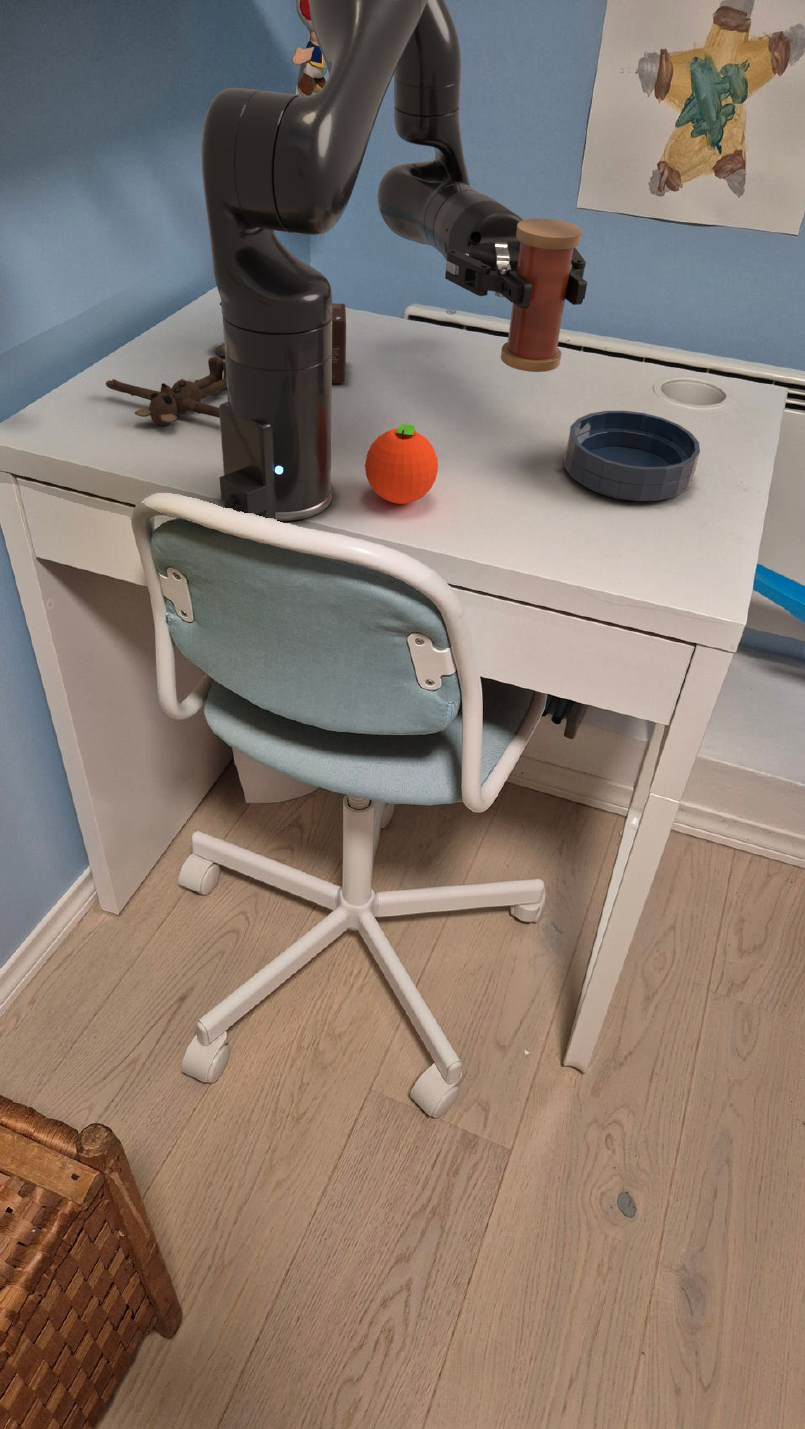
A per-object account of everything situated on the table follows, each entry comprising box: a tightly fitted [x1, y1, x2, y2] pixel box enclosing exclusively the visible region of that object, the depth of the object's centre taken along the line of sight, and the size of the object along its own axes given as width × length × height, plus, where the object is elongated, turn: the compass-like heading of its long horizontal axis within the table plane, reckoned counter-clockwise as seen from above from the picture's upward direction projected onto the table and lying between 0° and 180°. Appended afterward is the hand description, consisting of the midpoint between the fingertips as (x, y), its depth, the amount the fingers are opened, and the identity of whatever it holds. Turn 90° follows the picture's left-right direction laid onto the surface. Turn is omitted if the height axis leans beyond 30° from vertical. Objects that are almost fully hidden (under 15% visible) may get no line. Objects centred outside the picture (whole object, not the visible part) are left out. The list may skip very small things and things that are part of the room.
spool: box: [500, 218, 583, 373], centre depth 91 cm, size 6×6×12 cm
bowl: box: [564, 410, 701, 502], centre depth 100 cm, size 13×13×4 cm
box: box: [332, 302, 347, 384], centre depth 114 cm, size 6×6×7 cm
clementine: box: [364, 423, 439, 505], centre depth 93 cm, size 8×7×7 cm
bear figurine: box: [105, 356, 227, 427], centre depth 107 cm, size 18×4×14 cm
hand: (554, 295), depth 89 cm, fingers closed on spool, 4 cm apart
